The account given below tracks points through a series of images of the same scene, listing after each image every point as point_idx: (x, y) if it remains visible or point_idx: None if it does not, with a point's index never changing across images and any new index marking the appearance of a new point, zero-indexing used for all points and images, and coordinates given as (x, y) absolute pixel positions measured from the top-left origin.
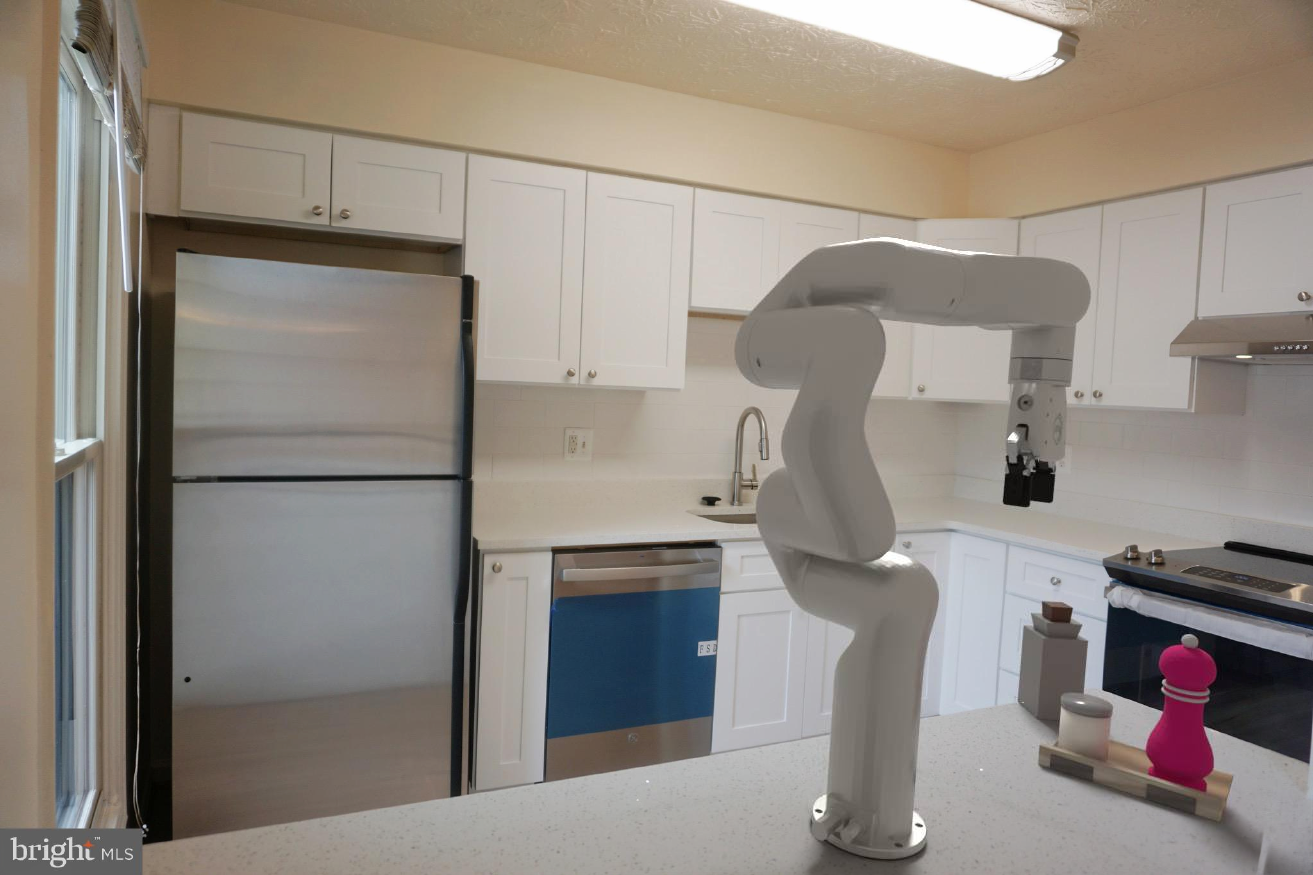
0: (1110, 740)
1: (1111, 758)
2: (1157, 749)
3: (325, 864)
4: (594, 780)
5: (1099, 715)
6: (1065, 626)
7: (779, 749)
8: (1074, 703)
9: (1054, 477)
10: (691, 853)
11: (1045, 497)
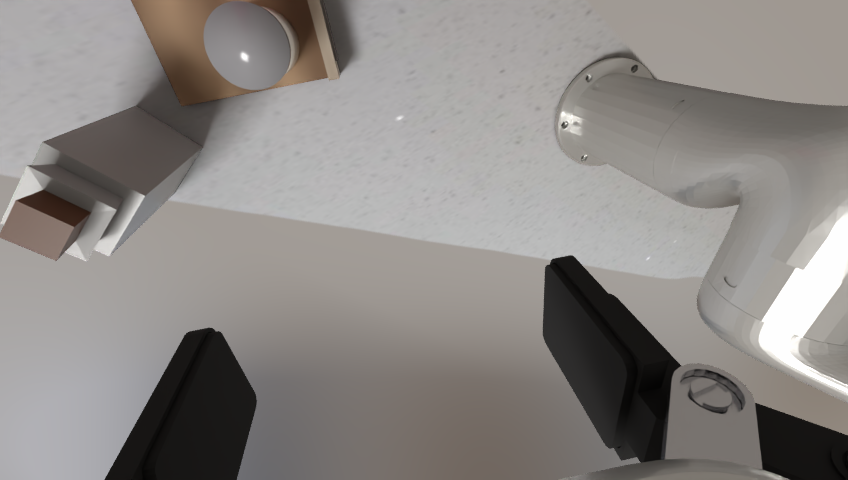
0: (154, 44)
1: None
2: None
3: None
4: (670, 275)
5: (269, 12)
6: (73, 186)
7: (528, 250)
8: (279, 56)
9: (134, 454)
10: None
11: (221, 361)
